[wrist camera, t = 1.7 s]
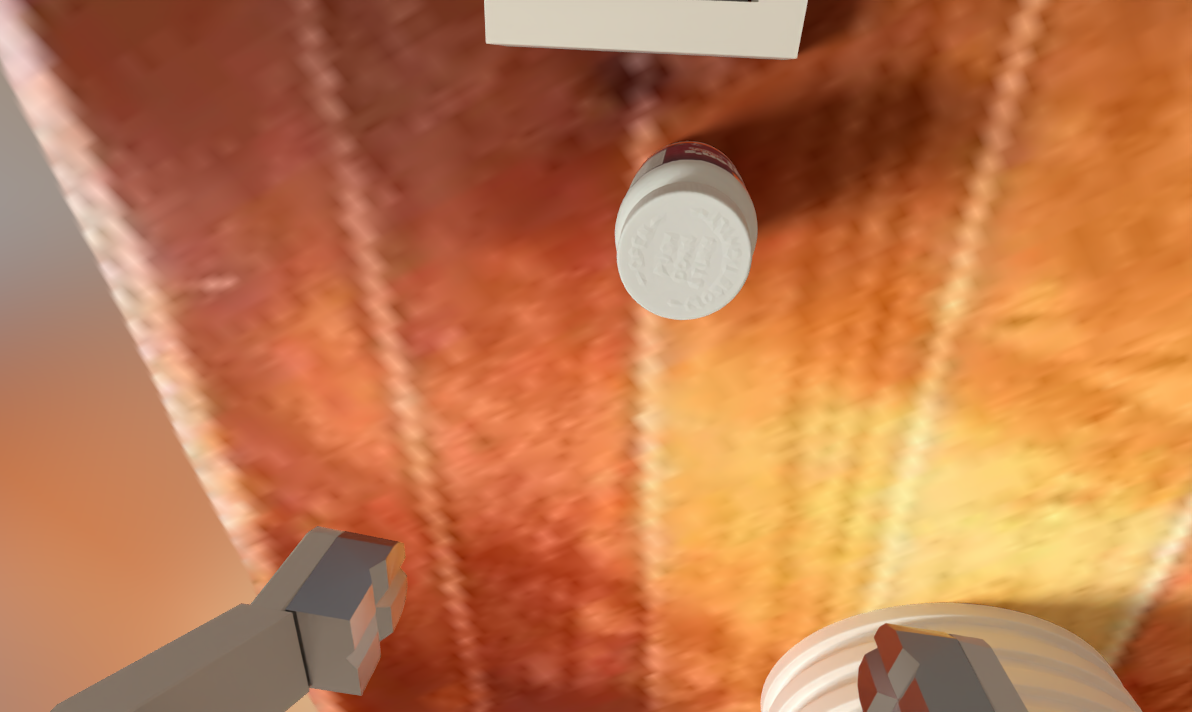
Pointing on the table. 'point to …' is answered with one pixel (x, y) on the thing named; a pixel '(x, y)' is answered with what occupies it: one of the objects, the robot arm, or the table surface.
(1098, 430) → the table surface
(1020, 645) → the plate stack
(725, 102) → the table surface
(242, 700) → the robot arm
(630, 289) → the pill bottle
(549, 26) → the holder block
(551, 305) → the table surface
